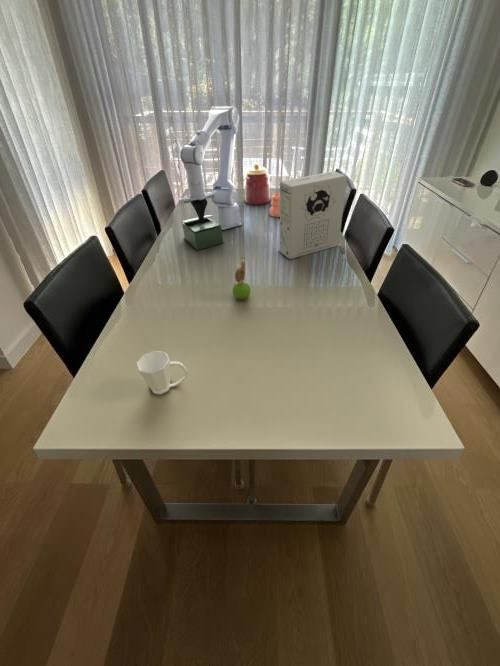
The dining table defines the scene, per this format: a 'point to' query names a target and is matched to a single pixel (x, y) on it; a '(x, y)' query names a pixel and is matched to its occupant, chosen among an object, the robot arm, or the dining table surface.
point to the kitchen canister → (257, 185)
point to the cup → (158, 371)
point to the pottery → (275, 205)
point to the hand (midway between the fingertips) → (201, 219)
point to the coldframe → (203, 233)
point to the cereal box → (311, 213)
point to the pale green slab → (196, 218)
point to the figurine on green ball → (241, 283)
